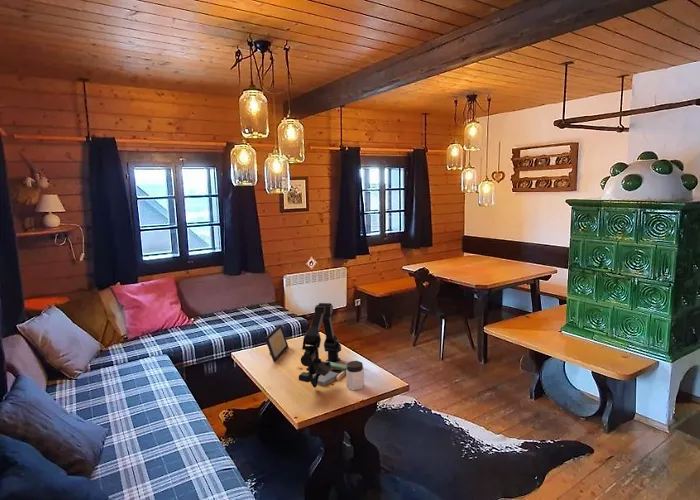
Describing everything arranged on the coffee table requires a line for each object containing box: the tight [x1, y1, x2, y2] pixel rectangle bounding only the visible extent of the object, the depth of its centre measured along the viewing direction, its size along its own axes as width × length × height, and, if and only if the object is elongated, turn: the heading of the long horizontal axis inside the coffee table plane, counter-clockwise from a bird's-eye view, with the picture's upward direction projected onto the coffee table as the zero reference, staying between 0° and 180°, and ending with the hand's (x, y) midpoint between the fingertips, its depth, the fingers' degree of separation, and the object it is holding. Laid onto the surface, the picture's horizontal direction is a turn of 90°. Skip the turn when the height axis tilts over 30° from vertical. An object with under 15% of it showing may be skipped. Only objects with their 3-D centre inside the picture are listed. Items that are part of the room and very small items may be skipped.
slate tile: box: [317, 371, 339, 387], centre depth 228 cm, size 12×6×2 cm, turn 141°
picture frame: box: [264, 324, 289, 363], centre depth 265 cm, size 23×9×15 cm, turn 168°
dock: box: [319, 361, 347, 382], centre depth 235 cm, size 12×16×4 cm
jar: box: [345, 360, 365, 391], centre depth 219 cm, size 9×8×12 cm
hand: (314, 387), depth 219 cm, fingers closed
